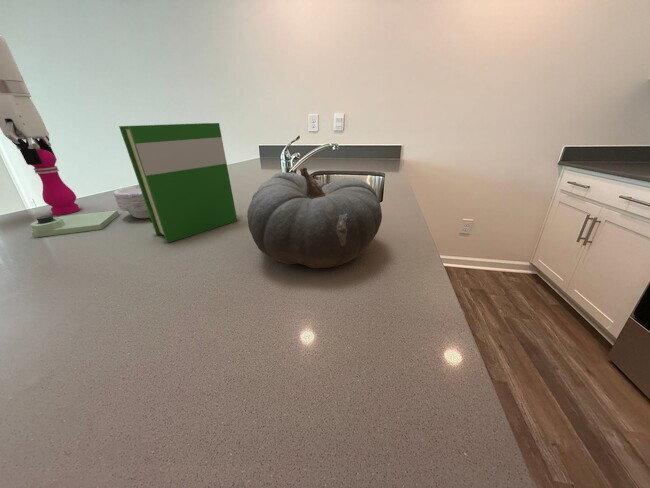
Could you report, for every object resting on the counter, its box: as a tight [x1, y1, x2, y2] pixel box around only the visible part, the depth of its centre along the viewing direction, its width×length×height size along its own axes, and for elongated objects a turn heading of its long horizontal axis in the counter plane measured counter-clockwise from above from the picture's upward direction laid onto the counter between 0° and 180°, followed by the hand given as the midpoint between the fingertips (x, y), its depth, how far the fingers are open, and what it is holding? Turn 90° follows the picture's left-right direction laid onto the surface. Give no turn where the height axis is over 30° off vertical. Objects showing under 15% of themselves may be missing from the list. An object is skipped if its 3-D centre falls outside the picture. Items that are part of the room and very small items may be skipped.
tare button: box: [36, 214, 55, 224], centre depth 64 cm, size 3×3×2 cm
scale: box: [30, 209, 120, 238], centre depth 69 cm, size 14×12×3 cm
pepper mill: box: [31, 142, 81, 216], centre depth 76 cm, size 7×7×20 cm
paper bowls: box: [113, 184, 151, 219], centre depth 75 cm, size 15×15×8 cm
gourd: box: [246, 166, 383, 269], centre depth 50 cm, size 25×25×17 cm
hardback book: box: [118, 122, 238, 244], centre depth 61 cm, size 18×7×24 cm, turn 139°
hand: (42, 162), depth 74 cm, fingers closed on pepper mill, 6 cm apart
